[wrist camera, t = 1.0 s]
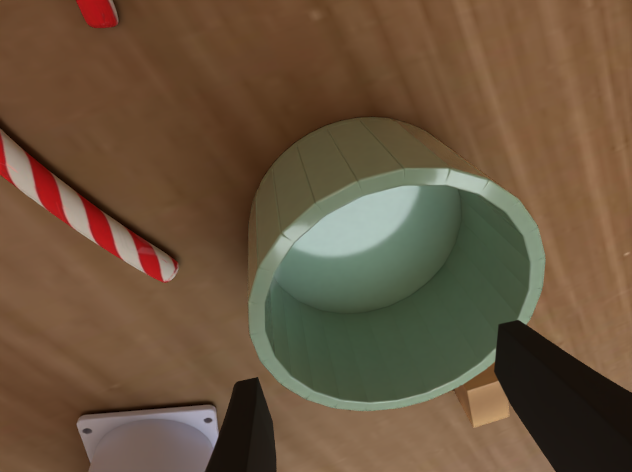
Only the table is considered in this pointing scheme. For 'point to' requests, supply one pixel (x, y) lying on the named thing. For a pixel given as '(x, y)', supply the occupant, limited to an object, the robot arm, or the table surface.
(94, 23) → the candy cane
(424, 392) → the green round bowl
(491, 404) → the wooden block with disc
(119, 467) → the robot arm
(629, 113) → the table surface
